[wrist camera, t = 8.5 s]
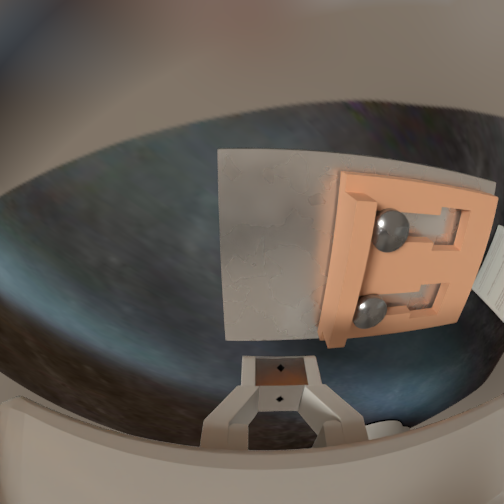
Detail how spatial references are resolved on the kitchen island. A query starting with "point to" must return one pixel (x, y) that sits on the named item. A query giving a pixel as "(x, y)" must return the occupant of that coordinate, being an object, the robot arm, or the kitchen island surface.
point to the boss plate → (309, 236)
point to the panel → (401, 254)
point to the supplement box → (492, 275)
